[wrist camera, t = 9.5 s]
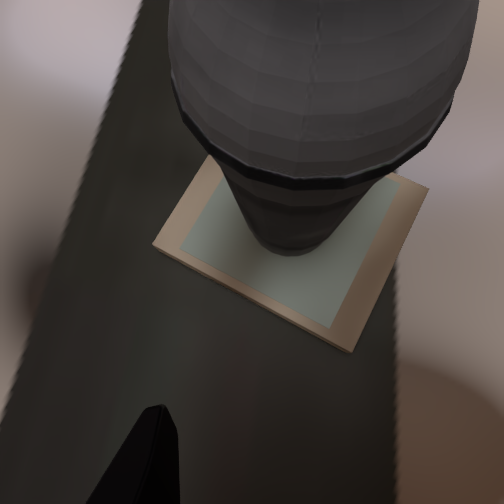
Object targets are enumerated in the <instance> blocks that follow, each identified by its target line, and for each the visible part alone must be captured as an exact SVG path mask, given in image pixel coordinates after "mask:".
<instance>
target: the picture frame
mask: <svg viewBox="0 0 504 504" xmlns="http://www.w3.org/2000/svg"><path fill="white" fill-rule="evenodd" d="M428 190H429V188H426V187H424V186H422V185H420V184H417V183H415V182H413V181H411V180H409V179H406V178H404V177H402V176H400V175H397V174H395V173H393V172H391V173H390V174H388V175H386V176H385V177H383V178H382V179H381V180H379V181H378V182H376V183H375V184H374V185H373V186H372V187H371V188H370V189H369V191H368V192H367V193H366V194H365V195H364V197H363V198H362V199H361V200H360V201H359V202H358V204H357V205H356V206H355V207H354V208H353V209H352V211H351V212H350V213H349V214H348V215H347V217H346V218H345V219H344V220H343V221H342V222H341V224H340V225H339V226H338V227H337V228H336V229H335V231H334V232H333V233H332V234H331V235H330V237H329V238H328V239H326V240H325V241H324V242H322V244H321V245H320V246H318V247H317V248H316V249H314V250H313V251H312V252H310V253H307V254H304V255H301V256H290V257H285V256H281V255H278V254H274V253H272V252H270V251H269V250H267V249H266V248H264V247H263V246H261V244H260V243H259V242H258V241H257V239H256V238H255V237H254V235H253V233H252V232H251V230H250V229H249V228H248V225H247V223H246V221H245V219H244V217H243V215H242V213H241V211H240V208H239V206H238V204H237V202H236V200H235V198H234V196H233V193H232V191H231V189H230V187H229V185H228V183H227V181H226V179H225V176H224V174H223V172H222V170H221V168H220V166H219V165H218V164H217V163H216V161H215V160H214V159H213V158H212V156H211V155H208V157H207V158H206V160H205V162H204V163H203V165H202V166H201V168H200V169H199V171H198V173H197V174H196V176H195V177H194V179H193V180H192V182H191V184H190V185H189V187H188V188H187V190H186V192H185V193H184V195H183V196H182V198H181V199H180V201H179V203H178V204H177V206H176V207H175V209H174V210H173V212H172V214H171V215H170V217H169V218H168V220H167V222H166V223H165V225H164V226H163V228H162V229H161V231H160V233H159V234H158V236H157V237H156V239H155V241H154V242H153V244H152V245H153V246H155V247H156V248H157V249H158V250H159V251H160V252H162V253H164V254H166V255H167V256H169V257H171V258H173V259H175V260H177V261H178V262H180V263H182V264H184V265H186V266H188V267H189V268H191V269H193V270H195V271H197V272H199V273H200V274H202V275H204V276H206V277H208V278H210V279H212V280H213V281H215V282H217V283H219V284H221V285H223V286H224V287H226V288H228V289H230V290H232V291H234V292H235V293H237V294H239V295H241V296H243V297H245V298H246V299H248V300H250V301H252V302H254V303H256V304H257V305H259V306H261V307H263V308H265V309H267V310H268V311H270V312H272V313H274V314H276V315H278V316H279V317H281V318H283V319H285V320H287V321H289V322H290V323H292V324H294V325H296V326H298V327H300V328H301V329H303V330H305V331H307V332H309V333H311V334H312V335H314V336H316V337H318V338H320V339H322V340H323V341H325V342H327V343H329V344H331V345H333V346H334V347H336V348H338V349H340V350H342V351H344V352H346V353H352V351H353V349H354V347H355V345H356V343H357V341H358V339H359V337H360V335H361V332H362V330H363V328H364V326H365V324H366V322H367V320H368V318H369V315H370V313H371V311H372V309H373V307H374V305H375V303H376V301H377V299H378V296H379V294H380V292H381V290H382V288H383V286H384V284H385V282H386V279H387V277H388V275H389V273H390V271H391V269H392V267H393V265H394V262H395V260H396V258H397V256H398V254H399V252H400V250H401V248H402V246H403V243H404V241H405V239H406V237H407V235H408V233H409V231H410V228H411V226H412V224H413V222H414V220H415V218H416V216H417V214H418V212H419V209H420V207H421V205H422V203H423V201H424V199H425V197H426V195H427V193H428Z"/></svg>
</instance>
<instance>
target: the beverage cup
mask: <svg viewBox="0 0 504 504" xmlns="http://www.w3.org/2000/svg"><path fill="white" fill-rule="evenodd" d="M478 5H479V0H170V6H169V21H168V47H169V57H170V61H171V65H172V67H171V86H172V90H173V93H174V96H175V99H176V102H177V105H178V108H179V111H180V114H181V117H182V120H183V123H184V124H185V125H186V126H187V128H188V129H189V130H190V131H191V133H192V134H193V135H194V136H195V138H196V139H197V140H198V141H199V143H200V144H201V145H202V146H203V148H204V149H205V150H206V151H207V153H208V154H209V155H211V156H212V158H213V159H214V160H215V161H216V163H217V164H218V165H219V166H220V168H221V170H222V172H223V174H224V176H225V179H226V181H227V183H228V185H229V187H230V189H231V191H232V193H233V196H234V198H235V200H236V202H237V204H238V206H239V208H240V211H241V213H242V215H243V217H244V219H245V221H246V223H247V225H248V228H249V229H250V230H251V232H252V233H253V235H254V237H255V238H256V239H257V241H258V242H259V243H260V244H261V246H263V247H264V248H266V249H267V250H269V251H270V252H272V253H274V254H278V255H281V256H285V257H290V256H301V255H304V254H307V253H310V252H312V251H313V250H314V249H316V248H317V247H318V246H320V245H321V244H322V242H324V241H325V240H326V239H328V238H329V237H330V235H331V234H332V233H333V232H334V231H335V229H336V228H337V227H338V226H339V225H340V224H341V222H342V221H343V220H344V219H345V218H346V217H347V215H348V214H349V213H350V212H351V211H352V209H353V208H354V207H355V206H356V205H357V204H358V202H359V201H360V200H361V199H362V198H363V197H364V195H365V194H366V193H367V192H368V191H369V189H370V188H371V187H372V186H373V185H374V184H375V183H376V182H378V181H379V180H381V179H382V178H383V177H385V176H386V175H388V174H390V173H391V172H393V171H394V170H396V169H397V168H398V167H399V166H401V165H402V164H404V163H405V162H406V161H408V160H409V159H411V158H412V157H413V156H414V155H416V154H417V153H419V152H420V151H421V150H423V149H424V148H425V147H426V146H427V145H428V143H429V142H430V140H431V139H432V137H433V136H434V134H435V133H436V131H437V130H438V128H439V127H440V125H441V124H442V122H443V121H444V119H445V118H446V116H447V115H448V113H449V112H450V108H451V105H452V102H453V97H454V93H455V90H456V88H457V86H458V84H459V83H460V81H461V78H462V75H463V72H464V69H465V67H466V64H467V61H468V57H469V52H470V48H471V43H472V38H473V33H474V29H475V23H476V19H477V12H478Z"/></svg>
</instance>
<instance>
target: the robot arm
mask: <svg viewBox="0 0 504 504" xmlns="http://www.w3.org/2000/svg"><path fill="white" fill-rule="evenodd" d="M85 504H180V484H179V451H178V433H177V429H176V426H175V424H174V422H173V420H172V418H171V415H170V413H169V411H168V409H167V407H166V406H165V405H163V404H161V405H156V406H152V407H148V408H146V409H145V410H144V411H143V412H142V414H141V415H140V417H139V418H138V420H137V422H136V423H135V425H134V426H133V428H132V430H131V431H130V433H129V434H128V436H127V438H126V439H125V441H124V442H123V444H122V446H121V447H120V449H119V450H118V452H117V454H116V455H115V457H114V458H113V460H112V462H111V463H110V465H109V466H108V468H107V470H106V471H105V473H104V474H103V476H102V477H101V479H100V481H99V482H98V484H97V485H96V487H95V489H94V490H93V492H92V493H91V495H90V497H89V498H88V500H87V501H86V503H85Z"/></svg>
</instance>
